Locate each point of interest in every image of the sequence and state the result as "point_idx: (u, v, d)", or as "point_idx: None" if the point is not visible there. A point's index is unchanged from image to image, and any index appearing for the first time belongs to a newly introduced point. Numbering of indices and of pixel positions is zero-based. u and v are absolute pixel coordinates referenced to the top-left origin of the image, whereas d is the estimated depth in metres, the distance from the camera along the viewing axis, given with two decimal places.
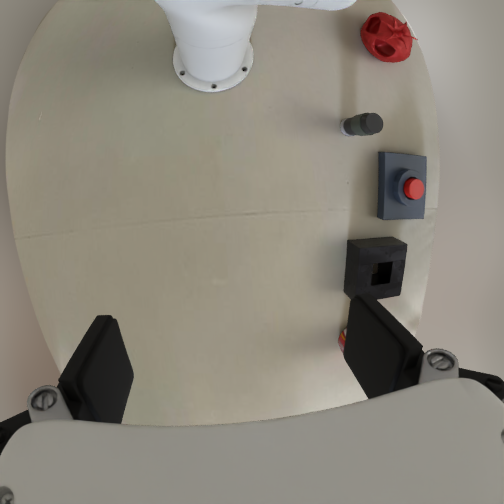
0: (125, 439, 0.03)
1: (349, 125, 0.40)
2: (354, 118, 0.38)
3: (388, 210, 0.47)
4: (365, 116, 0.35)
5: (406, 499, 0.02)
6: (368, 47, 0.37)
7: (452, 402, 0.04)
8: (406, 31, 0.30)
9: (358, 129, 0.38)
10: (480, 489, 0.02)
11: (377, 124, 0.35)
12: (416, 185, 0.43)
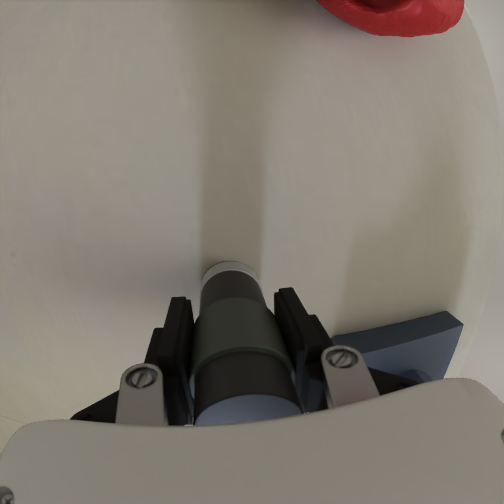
0: (125, 439, 0.03)
1: None
2: (195, 333, 0.10)
3: None
4: (200, 396, 0.07)
5: (406, 499, 0.02)
6: None
7: (452, 402, 0.04)
8: None
9: None
10: (480, 489, 0.02)
11: None
12: None
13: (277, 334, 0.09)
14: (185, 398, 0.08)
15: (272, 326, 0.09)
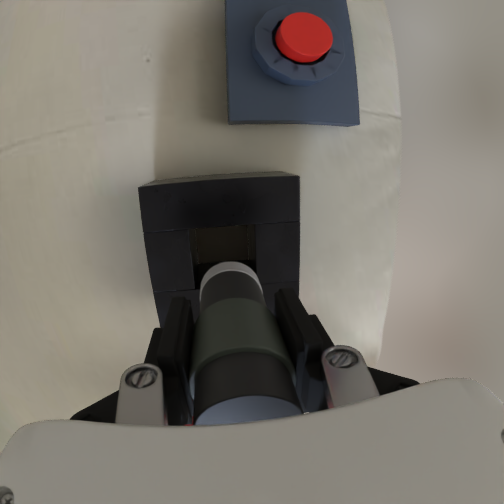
0: (125, 439, 0.03)
1: None
2: (195, 334, 0.10)
3: (243, 98, 0.18)
4: (200, 398, 0.07)
5: (406, 499, 0.02)
6: None
7: (452, 402, 0.04)
8: None
9: None
10: (480, 489, 0.02)
11: None
12: (304, 24, 0.14)
13: (277, 335, 0.09)
14: (185, 398, 0.08)
15: (272, 327, 0.09)
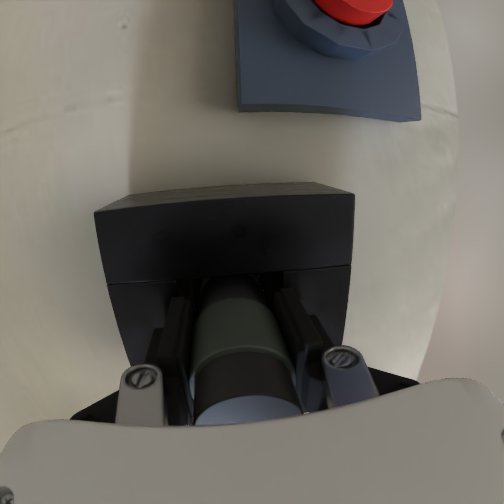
0: (125, 439, 0.03)
1: None
2: (195, 334, 0.10)
3: (262, 70, 0.11)
4: (200, 397, 0.07)
5: (406, 499, 0.02)
6: None
7: (452, 402, 0.04)
8: None
9: None
10: (480, 489, 0.02)
11: None
12: None
13: (277, 335, 0.09)
14: (185, 398, 0.08)
15: (272, 327, 0.09)
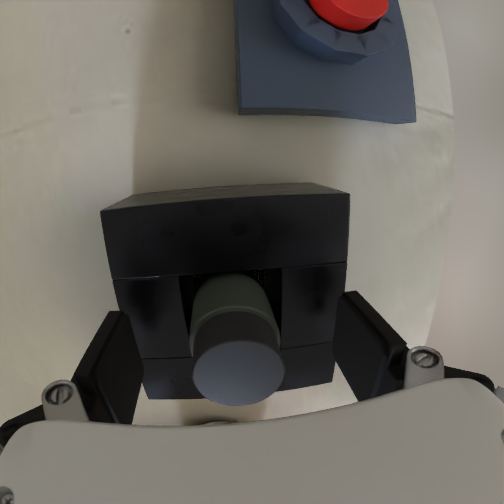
0: (125, 439, 0.03)
1: None
2: (195, 303, 0.12)
3: (261, 75, 0.12)
4: (198, 347, 0.09)
5: (406, 499, 0.02)
6: None
7: (452, 402, 0.04)
8: None
9: None
10: (480, 489, 0.02)
11: (253, 379, 0.09)
12: None
13: (264, 301, 0.11)
14: (110, 417, 0.07)
15: (260, 295, 0.11)
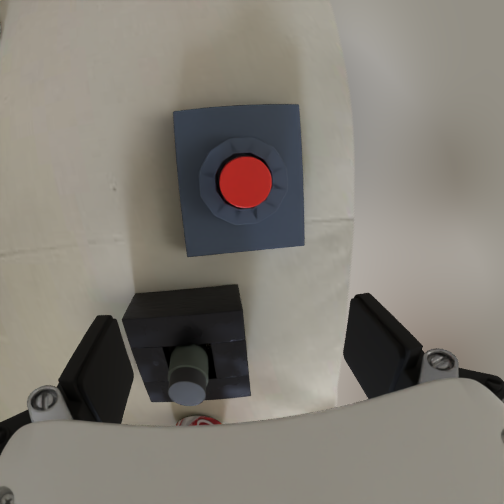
0: (125, 439, 0.03)
1: None
2: (171, 358, 0.23)
3: (197, 236, 0.23)
4: (170, 382, 0.20)
5: (406, 499, 0.02)
6: None
7: (452, 402, 0.04)
8: None
9: None
10: (480, 489, 0.02)
11: (193, 395, 0.20)
12: (243, 172, 0.19)
13: (201, 360, 0.23)
14: None
15: (199, 357, 0.23)
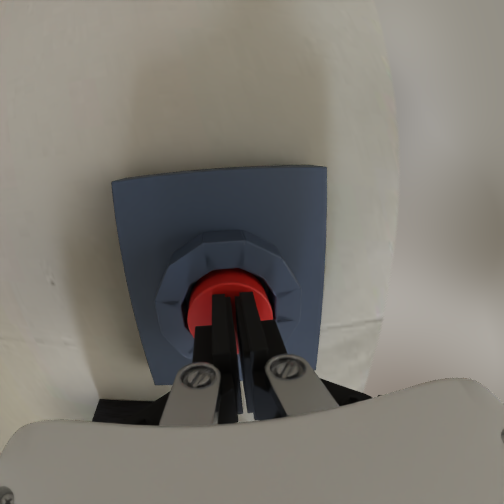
0: (125, 439, 0.03)
1: None
2: None
3: (165, 364, 0.15)
4: None
5: (406, 499, 0.02)
6: None
7: (452, 402, 0.04)
8: None
9: None
10: (480, 489, 0.02)
11: None
12: None
13: None
14: (235, 395, 0.08)
15: None
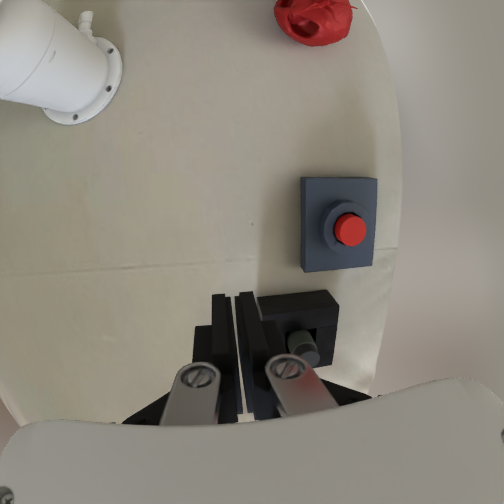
0: (125, 439, 0.03)
1: (286, 337, 0.38)
2: (290, 340, 0.36)
3: (312, 259, 0.37)
4: (298, 353, 0.33)
5: (406, 499, 0.02)
6: (283, 28, 0.27)
7: (452, 402, 0.04)
8: None
9: None
10: (480, 489, 0.02)
11: (311, 361, 0.33)
12: (352, 226, 0.32)
13: (312, 339, 0.36)
14: (235, 395, 0.08)
15: (310, 337, 0.36)
